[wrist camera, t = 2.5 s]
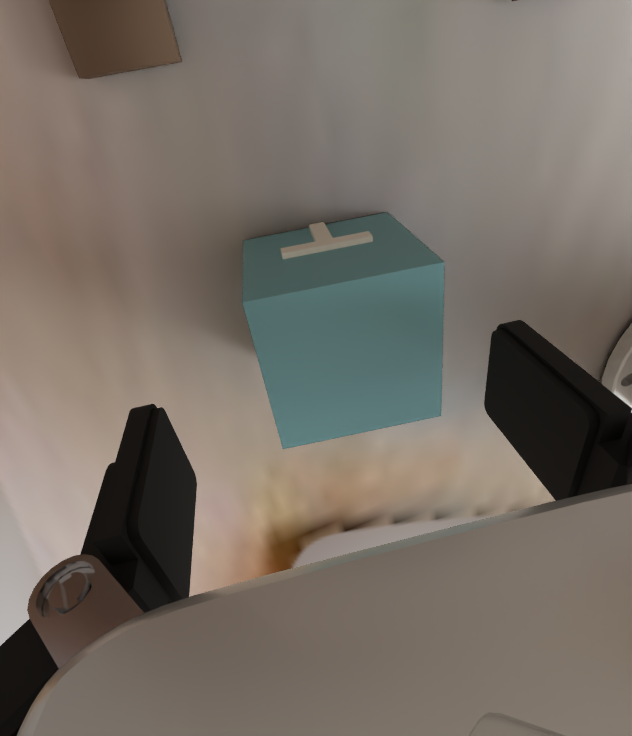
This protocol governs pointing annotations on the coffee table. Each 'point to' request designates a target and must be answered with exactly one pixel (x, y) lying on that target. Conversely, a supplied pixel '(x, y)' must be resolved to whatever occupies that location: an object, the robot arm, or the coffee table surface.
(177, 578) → the robot arm
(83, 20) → the screen
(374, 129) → the coffee table surface
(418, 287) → the letter cube
